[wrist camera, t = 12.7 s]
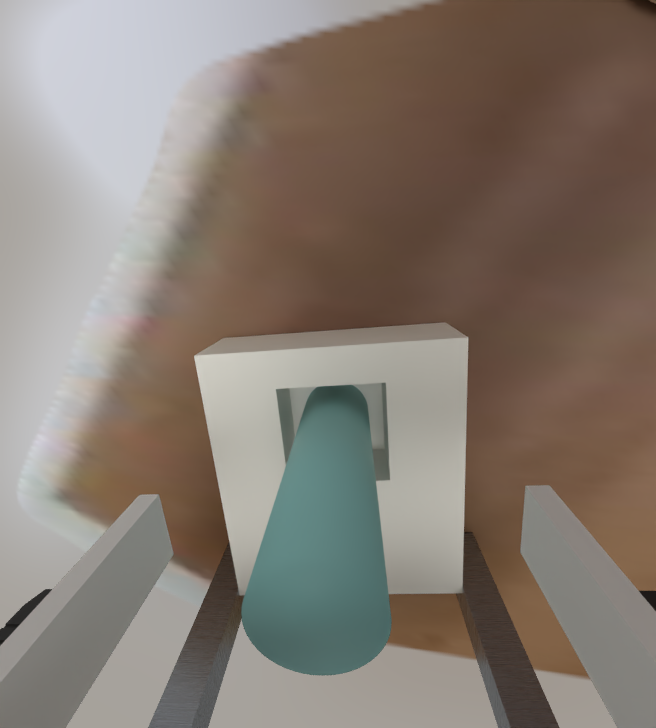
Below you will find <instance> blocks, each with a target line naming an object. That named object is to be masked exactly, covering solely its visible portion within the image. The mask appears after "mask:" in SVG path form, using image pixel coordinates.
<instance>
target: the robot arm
mask: <svg viewBox="0 0 656 728" xmlns="http://www.w3.org/2000/svg"><path fill="white" fill-rule="evenodd" d="M520 552H521V554H522V556H523V558H524V560H525V561H526V563H527V565H528V567H529V569H530V570H531V572H532V574H533V576H534V578H535V579H536V581H537V583H538V585H539V587H540V589H541V590H542V592H543V594H544V596H545V598H546V599H547V601H548V603H549V605H550V607H551V608H552V610H553V612H554V614H555V616H556V617H557V619H558V621H559V623H560V625H561V626H562V628H563V630H564V632H565V634H566V636H567V637H568V639H569V641H570V643H571V645H572V646H573V648H574V650H575V652H576V654H577V655H578V657H579V659H580V661H581V663H582V664H583V666H584V668H585V670H586V672H587V673H588V675H589V677H590V679H591V681H592V682H593V684H594V686H595V688H596V690H597V691H598V693H599V695H600V697H601V699H602V701H603V702H604V704H605V706H606V708H607V710H608V711H609V713H610V715H611V717H612V718H613V720H614V722H615V724H616V726H617V728H656V591H638V590H637V589H636V587H635V586H634V585H633V584H632V583H631V581H630V580H629V579H628V578H627V577H626V576H625V574H624V573H623V572H622V571H621V570H620V568H619V567H618V566H617V565H616V564H615V562H614V561H613V560H612V559H611V558H610V557H609V555H608V554H607V553H606V552H605V551H604V549H603V548H602V547H601V546H600V545H599V544H598V542H597V541H596V540H595V539H594V538H593V536H592V535H591V534H590V533H589V532H588V530H587V529H586V528H585V527H584V526H583V525H582V523H581V522H580V521H579V520H578V519H577V517H576V516H575V515H574V514H573V513H572V512H571V510H570V509H569V508H568V507H567V506H566V504H565V503H564V502H563V501H562V500H561V498H560V497H559V496H558V495H557V494H556V493H555V491H554V490H553V489H552V488H551V487H550V485H540V486H525V499H524V512H523V524H522V537H521V550H520ZM172 556H173V549H172V545H171V541H170V537H169V533H168V529H167V525H166V521H165V517H164V513H163V509H162V505H161V501H160V497H159V494H151V495H139V496H138V497H137V498H136V499H135V500H134V501H133V502H132V504H131V505H130V506H129V507H128V508H127V509H126V510H125V511H124V512H123V513H122V514H121V516H120V517H119V518H118V519H117V520H116V521H115V522H114V523H113V524H112V525H111V526H110V527H109V529H108V530H107V531H106V532H105V533H104V534H103V535H102V536H101V537H100V538H99V539H98V540H97V542H96V543H95V544H94V545H93V546H92V547H91V548H90V549H89V550H88V551H87V552H86V553H85V555H84V556H83V557H82V558H81V559H80V560H79V561H78V562H77V563H76V564H75V565H74V566H73V568H72V569H71V570H70V571H69V572H68V573H67V574H66V575H65V576H64V577H63V578H62V580H61V581H60V582H59V583H58V584H57V585H56V586H55V587H54V588H53V589H46V590H44V591H43V592H41V593H40V594H38V595H37V596H36V597H34V598H33V599H32V600H30V601H29V602H28V603H26V604H25V605H24V606H23V607H22V608H21V609H20V610H19V611H18V612H17V613H16V614H15V615H14V616H13V617H12V618H11V619H10V620H9V621H8V622H7V623H6V626H5V627H4V628H2V629H0V728H66V726H67V724H68V723H69V721H70V720H71V718H72V716H73V715H74V713H75V712H76V710H77V709H78V707H79V705H80V704H81V702H82V701H83V699H84V697H85V696H86V694H87V693H88V691H89V689H90V688H91V686H92V684H93V683H94V681H95V680H96V678H97V676H98V675H99V673H100V671H101V670H102V668H103V667H104V665H105V664H106V662H107V660H108V659H109V657H110V655H111V654H112V652H113V651H114V649H115V647H116V646H117V644H118V643H119V641H120V639H121V638H122V636H123V635H124V633H125V631H126V630H127V628H128V626H129V625H130V623H131V622H132V620H133V619H134V617H135V615H136V614H137V612H138V611H139V609H140V607H141V606H142V604H143V602H144V601H145V599H146V598H147V596H148V594H149V593H150V591H151V590H152V588H153V586H154V585H155V583H156V582H157V580H158V578H159V577H160V575H161V574H162V572H163V570H164V569H165V567H166V566H167V564H168V562H169V561H170V559H171V557H172Z"/></svg>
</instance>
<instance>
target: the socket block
mask: <svg viewBox="0 0 656 728" xmlns="http://www.w3.org/2000/svg"><path fill="white" fill-rule="evenodd" d="M194 358H195V363H196V369H197V374H198V379H199V384H200V390H201V395H202V400H203V406H204V411H205V416H206V421H207V427H208V432H209V437H210V442H211V448H212V453H213V458H214V463H215V469H216V474H217V479H218V484H219V490H220V495H221V500H222V505H223V511H224V516H225V521H226V527H227V532H228V537H229V542H230V548H231V553H232V558H233V563H234V569H235V574H236V579H237V584H238V590H239V595H245V592H246V589H247V586H248V583H249V580H250V577H251V574H252V571H253V567H254V564H255V561H256V558H257V555H258V552H259V549H260V546H261V542H262V539H263V536H264V533H265V530H266V527H267V524H268V520H269V517H270V514H271V511H272V508H273V505H274V502H275V499H276V495H277V492H278V489H279V486H280V483H281V480H282V477H283V474H284V470H285V467H286V464H287V461H288V458H289V455H290V452H291V448H292V445H293V442H294V439H295V436H296V433H297V430H298V427H299V423H300V420H301V417H302V414H303V411H304V408H305V405H306V402H307V399H308V397H309V395H310V393H311V392H312V391H313V390H314V389H315V388H316V387H319V386H336V385H353V386H355V387H356V388H358V389H359V390H360V391H361V393H362V394H363V395H364V397H365V399H366V402H367V405H368V414H369V423H370V432H371V441H372V450H373V459H374V468H375V477H376V486H377V495H378V504H379V513H380V522H381V531H382V540H383V549H384V558H385V567H386V576H387V585H388V594H442V593H462V590H463V546H464V503H465V460H466V417H467V374H468V337H467V336H465V335H464V334H462V333H461V332H459V331H458V330H456V329H455V328H453V327H452V326H450V325H449V324H447V323H446V322H443V323H429V324H415V325H401V326H386V327H372V328H358V329H344V330H330V331H316V332H302V333H287V334H273V335H259V336H245V337H231V338H223V339H221V340H219V341H218V342H216V343H214V344H213V345H211V346H209V347H208V348H206V349H204V350H203V351H201V352H199V353H198V354H196V355H194Z"/></svg>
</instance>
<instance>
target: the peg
mask: <svg viewBox="0 0 656 728" xmlns="http://www.w3.org/2000/svg"><path fill="white" fill-rule="evenodd" d="M241 616H242V623H243V626H244V629H245V632H246V634H247V636H248V637H249V639H250V641H251V642H252V643H253V645H254V646H255V647H256V648H257V649H258V650H259V651H260V652H261V653H262V654H263V655H264V656H266V657H267V658H268V659H270V660H271V661H273V662H275V663H276V664H278V665H280V666H282V667H284V668H287V669H290V670H293V671H295V672H299V673H303V674H310V675H336V674H342V673H346V672H349V671H352V670H355V669H358V668H360V667H362V666H364V665H365V664H367V663H368V662H370V661H371V660H372V659H374V658H375V657H376V656H377V655H378V654H379V653H380V652H381V651H382V649H383V648H384V646H385V645H386V643H387V641H388V638H389V636H390V631H391V612H390V603H389V594H388V585H387V576H386V567H385V558H384V549H383V540H382V531H381V522H380V513H379V504H378V495H377V486H376V477H375V468H374V459H373V450H372V441H371V432H370V423H369V414H368V405H367V402H366V399H365V397H364V395H363V394H362V393H361V391H360V390H359V389H358V388H356V387H355V386H353V385H336V386H319V387H316V388H315V389H314V390H313V391H312V392H311V393H310V395H309V397H308V399H307V402H306V405H305V408H304V411H303V414H302V417H301V420H300V423H299V427H298V430H297V433H296V436H295V439H294V442H293V445H292V448H291V452H290V455H289V458H288V461H287V464H286V467H285V470H284V474H283V477H282V480H281V483H280V486H279V489H278V492H277V495H276V499H275V502H274V505H273V508H272V511H271V514H270V517H269V520H268V524H267V527H266V530H265V533H264V536H263V539H262V542H261V546H260V549H259V552H258V555H257V558H256V561H255V564H254V567H253V571H252V574H251V577H250V580H249V583H248V586H247V589H246V592H245V596H244V599H243V603H242V610H241Z"/></svg>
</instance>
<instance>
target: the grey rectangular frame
mask: <svg viewBox="0 0 656 728" xmlns="http://www.w3.org/2000/svg"><path fill="white" fill-rule="evenodd" d="M456 595H457V598H458V601H459V604H460V608H461V611H462V614H463V617H464V620H465V623H466V627H467V630H468V633H469V636H470V639H471V643H472V646H473V649H474V652H475V655H476V658H477V662H478V665H479V668H480V671H481V674H482V677H483V681H484V684H485V687H486V690H487V693H488V697H489V700H490V703H491V706H492V709H493V712H494V716H495V719H496V722H497V725H498V728H559V726H558V723H557V721H556V719H555V717H554V714H553V713H552V710H551V708H550V705H549V703H548V701H547V699H546V697H545V694H544V692H543V690H542V688H541V685H540V683H539V681H538V679H537V676H536V674H535V672H534V669H533V667H532V665H531V663H530V660H529V658H528V656H527V654H526V651H525V649H524V647H523V645H522V643H521V640H520V638H519V636H518V634H517V631H516V629H515V627H514V625H513V622H512V620H511V618H510V616H509V613H508V611H507V609H506V607H505V604H504V602H503V600H502V598H501V595H500V593H499V591H498V589H497V586H496V584H495V582H494V580H493V577H492V575H491V573H490V571H489V568H488V566H487V564H486V562H485V559H484V557H483V555H482V553H481V550H480V548H479V546H478V544H477V542H476V539H475V537H474V535H473V533H472V532H470V533H464V546H463V590H462V593H456ZM244 596H245V595H239V590H238V584H237V579H236V574H235V569H234V563H233V558H232V553H231V548H230V542H229V543H228V545H227V548H226V550H225V552H224V555H223V557H222V559H221V562H220V564H219V566H218V568H217V571H216V573H215V575H214V578H213V580H212V582H211V585H210V587H209V589H208V591H207V594H206V596H205V598H204V601H203V603H202V605H201V608H200V610H199V612H198V614H197V617H196V619H195V621H194V624H193V626H192V628H191V631H190V633H189V635H188V637H187V640H186V642H185V644H184V647H183V649H182V651H181V653H180V656H179V658H178V660H177V663H176V665H175V667H174V670H173V672H172V674H171V676H170V679H169V681H168V683H167V686H166V688H165V690H164V693H163V695H162V697H161V699H160V702H159V704H158V706H157V709H156V711H155V713H154V716H153V718H152V720H151V723H150V725H149V727H148V728H208V726H209V723H210V719H211V716H212V713H213V709H214V706H215V703H216V700H217V697H218V693H219V690H220V687H221V683H222V680H223V677H224V674H225V671H226V667H227V664H228V661H229V657H230V654H231V651H232V648H233V644H234V641H235V638H236V634H237V631H238V628H239V625H240V622H241V618H242V616H241V610H242V603H243V599H244Z"/></svg>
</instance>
